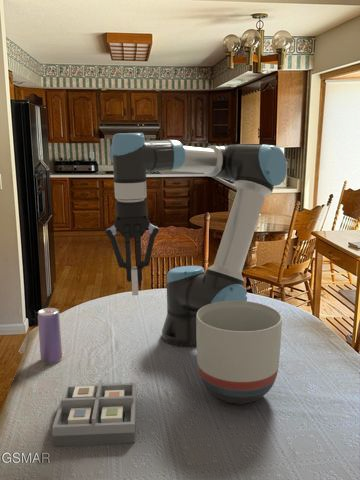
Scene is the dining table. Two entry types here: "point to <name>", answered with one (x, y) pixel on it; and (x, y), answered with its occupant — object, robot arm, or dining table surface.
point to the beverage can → (49, 335)
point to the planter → (238, 349)
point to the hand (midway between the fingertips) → (135, 293)
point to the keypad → (96, 416)
